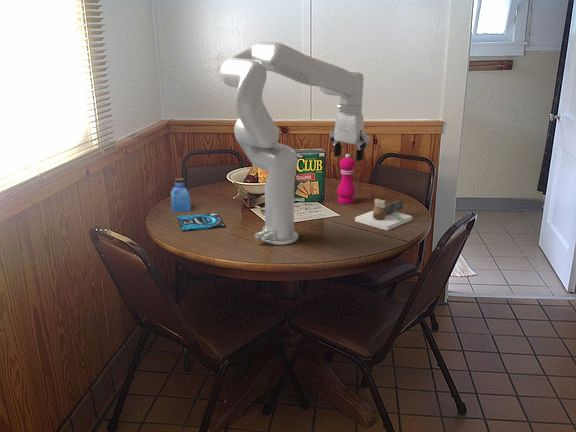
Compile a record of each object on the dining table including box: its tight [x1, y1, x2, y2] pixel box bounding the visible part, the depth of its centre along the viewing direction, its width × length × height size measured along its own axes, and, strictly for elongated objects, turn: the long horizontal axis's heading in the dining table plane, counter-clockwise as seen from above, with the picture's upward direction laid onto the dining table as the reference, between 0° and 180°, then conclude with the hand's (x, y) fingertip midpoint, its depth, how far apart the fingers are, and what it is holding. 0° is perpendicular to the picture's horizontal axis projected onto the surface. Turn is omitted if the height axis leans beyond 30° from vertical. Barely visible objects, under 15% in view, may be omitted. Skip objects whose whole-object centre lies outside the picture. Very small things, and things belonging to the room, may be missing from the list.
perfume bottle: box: [170, 177, 192, 213], centre depth 206 cm, size 6×6×12 cm
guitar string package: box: [177, 212, 227, 233], centre depth 193 cm, size 15×1×15 cm
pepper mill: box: [336, 153, 356, 205], centre depth 215 cm, size 7×7×20 cm
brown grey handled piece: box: [372, 198, 404, 219], centre depth 197 cm, size 16×4×6 cm, turn 136°
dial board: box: [354, 210, 413, 231], centre depth 197 cm, size 16×15×2 cm
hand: (348, 158), depth 190 cm, fingers open, 9 cm apart
